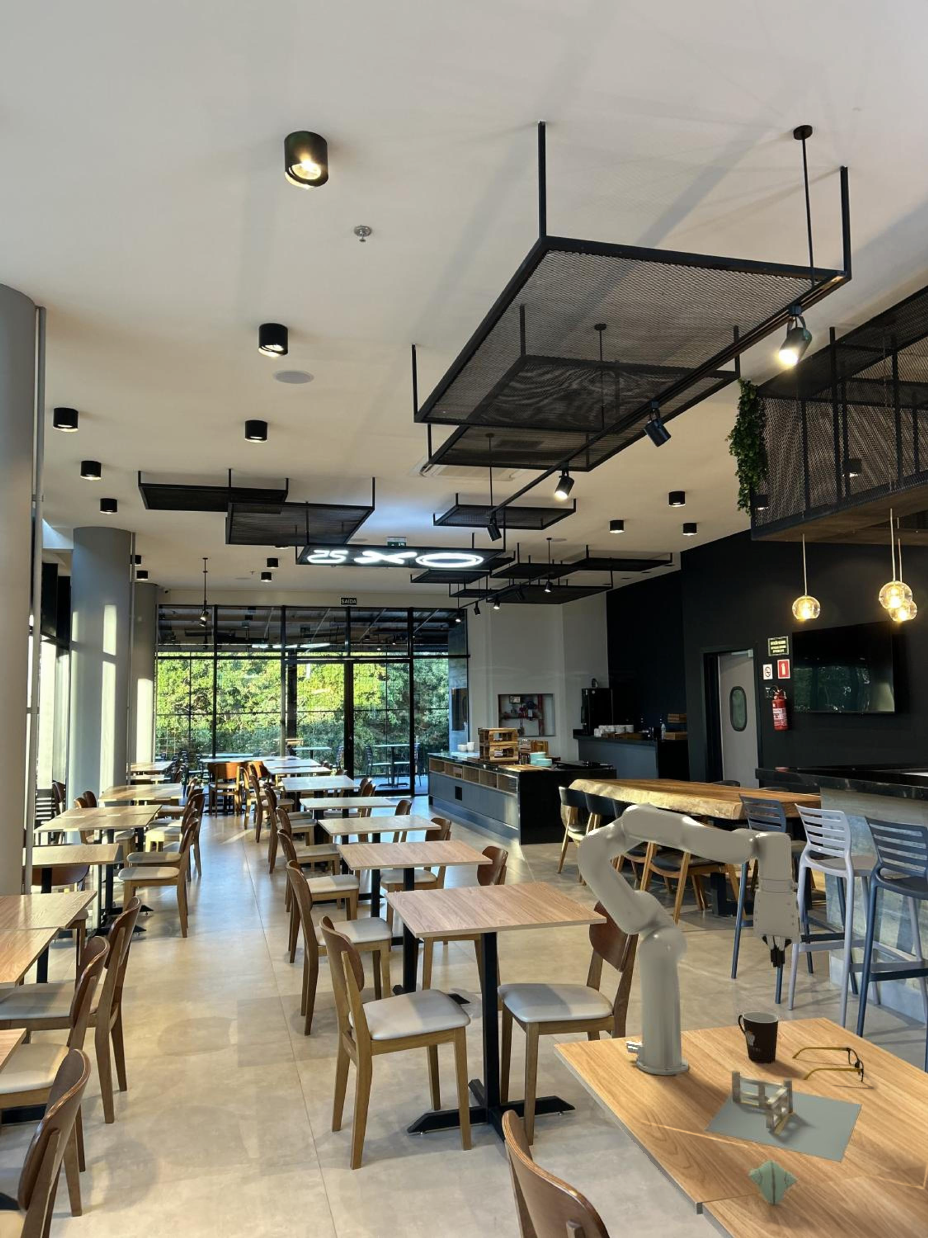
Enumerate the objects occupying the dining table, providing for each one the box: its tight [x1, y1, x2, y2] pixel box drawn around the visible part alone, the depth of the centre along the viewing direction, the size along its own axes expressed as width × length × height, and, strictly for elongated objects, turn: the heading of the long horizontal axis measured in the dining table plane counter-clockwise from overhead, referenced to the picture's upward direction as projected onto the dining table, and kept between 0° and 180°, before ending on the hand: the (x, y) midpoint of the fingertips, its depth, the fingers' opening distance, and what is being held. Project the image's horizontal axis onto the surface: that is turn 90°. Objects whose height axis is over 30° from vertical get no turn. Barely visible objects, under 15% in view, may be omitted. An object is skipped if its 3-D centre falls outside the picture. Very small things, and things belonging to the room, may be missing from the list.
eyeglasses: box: [791, 1046, 865, 1083], centre depth 215 cm, size 14×14×4 cm
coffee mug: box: [737, 1011, 779, 1065], centre depth 224 cm, size 12×9×10 cm
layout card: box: [704, 1082, 863, 1163], centre depth 188 cm, size 26×30×1 cm
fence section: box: [731, 1070, 793, 1113], centre depth 194 cm, size 13×2×6 cm, turn 59°
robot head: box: [748, 1159, 798, 1205], centre depth 155 cm, size 8×4×7 cm, turn 78°
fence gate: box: [765, 1085, 790, 1129], centre depth 186 cm, size 11×1×5 cm, turn 142°
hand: (778, 966), depth 208 cm, fingers closed
